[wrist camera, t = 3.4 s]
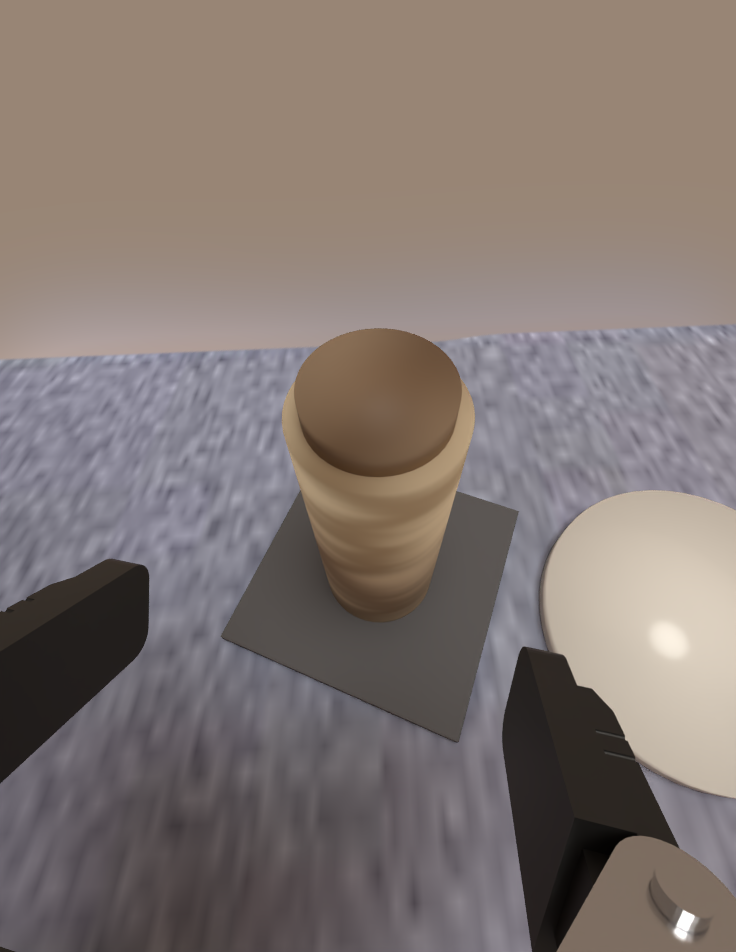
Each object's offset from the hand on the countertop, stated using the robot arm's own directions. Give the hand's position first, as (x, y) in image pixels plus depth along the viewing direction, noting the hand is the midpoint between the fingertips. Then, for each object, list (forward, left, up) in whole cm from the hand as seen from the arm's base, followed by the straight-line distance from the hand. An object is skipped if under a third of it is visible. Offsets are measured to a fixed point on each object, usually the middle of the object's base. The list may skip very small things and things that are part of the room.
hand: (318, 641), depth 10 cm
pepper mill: (-1, +6, -13) cm, 15 cm away
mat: (-1, +6, -14) cm, 15 cm away
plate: (+14, +9, -14) cm, 22 cm away
